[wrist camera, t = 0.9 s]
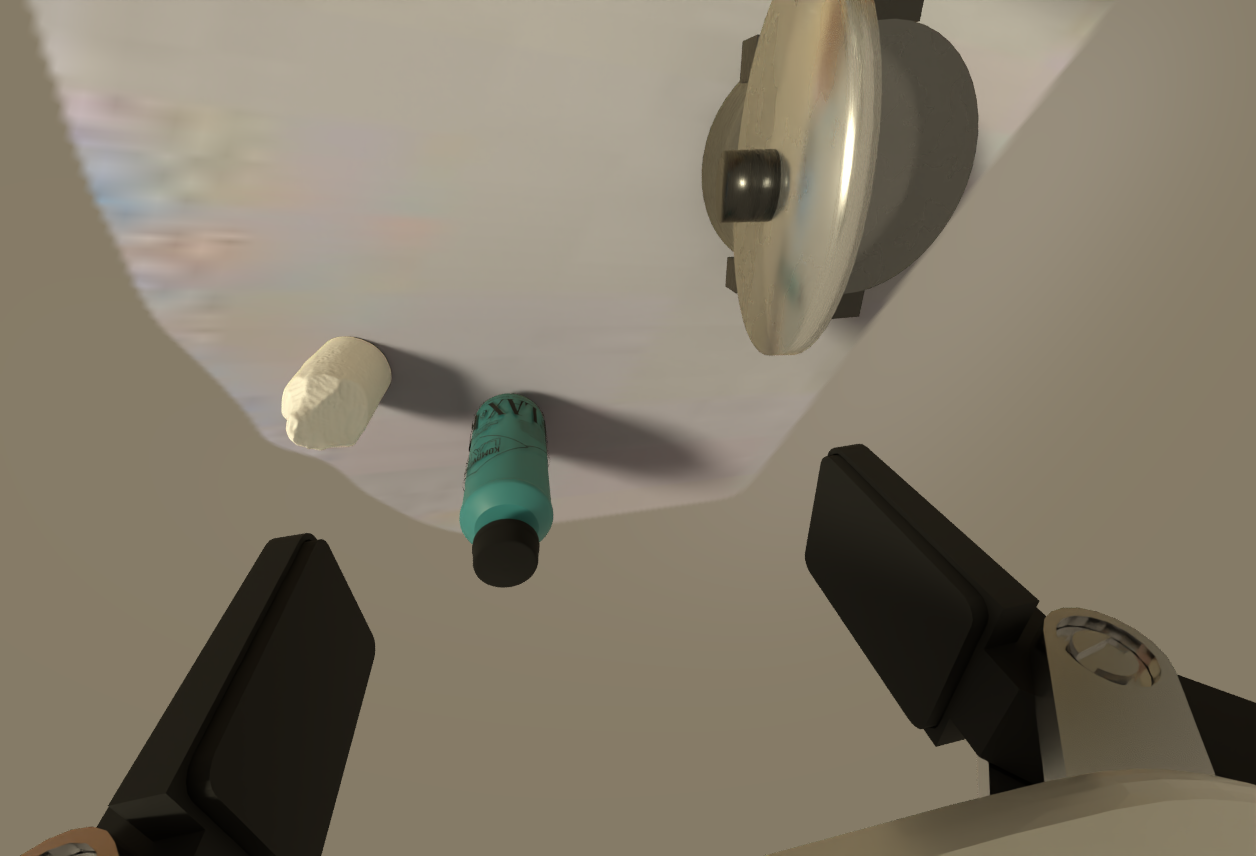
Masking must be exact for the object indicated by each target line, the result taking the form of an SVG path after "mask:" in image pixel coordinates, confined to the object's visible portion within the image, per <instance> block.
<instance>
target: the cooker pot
mask: <svg viewBox="0 0 1256 856" xmlns="http://www.w3.org/2000/svg"><path fill="white" fill-rule="evenodd" d="M923 2H924V0H874V3H875V8H876V14H877V20H878V26H879V34H880V47H881V59H882V100H881V117H880V133H879V142H878V151H877V160H876V168H875V174H874V180H873V186H872V192H871V198H870V203H869V208H868V212H867V217H866V221H865V226H864V230H863V235H862V238H861V242H860V245H859V249H858V252H857V256H856V259H855V263H854V266H853V269H852V271H851V274H850V277H849V280H848V283H847V286H846V288H845V291H844V293H843V295H842V298H841V300H840V302H839V305H838V307H837V309H836V311H835V313H834V315H833V316H832V318H831V319H835V318H847V317H858V316H859V314H860V309H861V304H862V300H863V295H864V290H866V289H869V288H872V287H874V286H876V285H879V284H881V283H883V282H885V281H887V280H889V279H890V278H892V277H894V276H896V275H897V274H899V273H900V272H901V271H903V270H904V269H906V268H907V267H908V266H909V265H911V264H912V263H913V262H914V261H915V260H916V259H918V258H919V257H920V256H921V255H922V254H923V253H924V252H925V251H926V249H927V248H928V247H929V246H930V245H931V244H932V243H933V242H934V240H935V239H936V238H937V237H938V235H939V234H940V233H941V232H942V230H943V229H944V227H945V225H946V224H947V222H948V221H949V219H950V218H951V216H952V214H953V212H954V211H955V209H956V207H957V205H958V203H959V201H960V199H961V197H962V194H963V192H964V190H965V187H966V185H967V182H968V179H969V175H970V172H971V169H972V165H973V161H974V156H975V152H976V145H977V137H978V109H977V99H976V94H975V90H974V85H973V82H972V79H971V76H970V74H969V71H968V68H967V66H966V65H965V63H964V61H963V59H962V57H961V56H960V54H959V53H958V51H957V50H956V49H955V48H954V47H953V45H952V44H951V43H950V42H949V41H948V40H947V39H946V38H944V37H943V36H942V35H941V34H940V33H939V32H937V31H935V30H933V29H931V28H930V27H928V26H926V25H923V24H920V23H917V22H918V21H920V17H921V12H922V7H923ZM759 37H760V35H755V36H753V37H751V38H749V39H747V40H745V41H743V45H742V59H741V73H740V82H739V83H738V84H737V85H736V86H735V87H734V88H733V90H732V91H731V92H730V94H729V95H728V96H727V98H726V99H725V101H724V102H723V104H722V106H721V108H720V109H719V111H718V113H717V115H716V117H715V119H714V122H713V124H712V126H711V129H710V132H709V135H708V138H707V141H706V146H705V150H704V155H703V164H702V190H703V198H704V202H705V206H706V210H707V213H708V216H709V218H710V221H711V224H712V225H713V227H714V229H715V231H716V233H717V234H718V236H719V237H720V238H721V240H722V241H723V242H724V244H726V245H727V246H728V247H729V248H730V249H731V250H732V251H733V252H734V239H733V223H719V221H718V218H717V213H716V178H717V169H718V163H719V159H720V155H721V153H722V151H723V150H738V143H739V135H740V128H741V121H742V114H743V108H744V102H745V96H746V91H747V86H748V81H749V76H750V72H751V67H752V63H753V59H754V55H755V51H756V47H757V44H758V40H759ZM726 287H727V288H729V289H730V290H732V291H733V292H735V293H737V285H736V276H735V264H734V257H728V258H727V272H726Z"/></svg>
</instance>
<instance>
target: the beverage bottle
mask: <svg viewBox="0 0 1256 856" xmlns="http://www.w3.org/2000/svg"><path fill="white" fill-rule="evenodd" d="M477 410H478V409H477ZM476 413H477V414H475V415H476V416H475V421H474V425H473V423H472V430H473V433H472V434H473V435H472V440H471V441H470V445H469V452H470V453H469V454H470V455H469V461H468V463H466V464H467V465H468V467H467V472H466V473H467V475H466V478H465V479H466V482H465V491H464V498H463V504H462V507H461V511H460V526H461V529H462V532H463V534H464V535H465V537H466V538H467V539H468V541H469V542H470V543H471V544H473V545H472V554H473V568H474V571H475V573H476V575H477V576H478V578H479V579H480V580H482V581H483V582H484V583H486V584H488V585H491V586H495V587H512V586H516V585H519V584H521V583H523V582H525V581H526V580H528V579H529V578H530V577H531V576H532V575H533V574H534V572H535V570H536V568H537V565H538V553H539V542H540V541H541V540H542V539H543V538H544V537H545V536H546V535H547V533H548V532H549V530H550V528H551V525H552V522H553V508H552V504H551V497H550V487H549V476H548V460H547V458H549V456H548V454H547V451H549V450H546V448H547V447H546V445H547V444H546V443H547V442H548V441H547V440H546V439H545V438H546V437H547V436H546V432H547V431H546V428H545V421H544V420H543V419H545V418H543V416H542V414H541V411H540V410H539V408H538V407H537V406H536V405H535V404H534V403H533V401H531V400H530V399H528V398H526V397H524V396H521V395H518V394H501V395H497V396H495V397H492V398H490V399H489V400H487V401H485V402H484V404H483V405H482V406H481V407H480V408H479V410H478V412H476ZM542 413H543V412H542ZM473 427H474V428H473ZM544 429H545V430H544ZM545 436H546V437H545ZM470 438H471V436H470ZM546 441H547V442H546ZM547 456H548V457H547ZM549 461H550V460H549ZM549 463H550V462H549ZM467 465H466V466H467ZM465 470H466V469H465ZM466 473H464V474H466ZM465 479H464V481H465ZM463 490H464V489H463Z"/></svg>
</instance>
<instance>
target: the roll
mask: <svg viewBox="0 0 1256 856" xmlns="http://www.w3.org/2000/svg"><path fill="white" fill-rule="evenodd" d="M390 383H391V369H390V366H389V364H388V362H387V360H386V358H385V356H384V355H383V353H382V352H381V351H380V350H379V349H378V348H377V347H375V346H374V345H372V344H371V343H369V342H366V341H364V340H362V339H358V338H355V337H337V338H333V339H331V340H329V341H327V342H326V343H325V344H324V345H323V346H322V347H321V348H320V349H319V350H318V351H317V352H316V353H315V354H314V355H313V356H312V357H310V358H309V359H308V360H307V361H306V362H305V363H304V364H303V365H302V367H301V369H300V370H299V371H298V372H297V373H296V374H295V376H294V377H293V378H292V379H291V381H290V382H289V383H288V385H287V386H286V387H285V389H284V393H283V397H282V414H283V416H284V417H285V418H286V419H287V427H286V431H287V433H288V436H289V438H290V439H291V440H292V441H293V442H294V443H295V444H296V445H299V446H304V447H307V449H316V450H324V449H327V448H331V447H349V446H353V445H354V444H356V442H357V440H358V439H359V437H360V436H361V434H362V433H363V431H364V430H365V428H366V426H367V425H368V423H369V421H370V419H371V418H372V416H373V414H374V412H375V410H376V409H377V407H378V405H379V403H380V401H381V399H382V397H383V395H384V394H385V392H386V391H387V389H388V387H389V385H390Z"/></svg>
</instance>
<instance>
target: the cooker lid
mask: <svg viewBox="0 0 1256 856" xmlns="http://www.w3.org/2000/svg"><path fill="white" fill-rule="evenodd" d="M881 100H882V59H881V47H880V34H879V26H878V20H877V14H876V8H875V3H874V0H772V2H771V5H770V7H769V10H768V13H767V15H766V18H765V21H764V24H763V27H762V30H761V33H760V37H759V40H758V44H757V47H756V51H755V55H754V59H753V63H752V67H751V72H750V76H749V81H748V86H747V91H746V96H745V102H744V108H743V114H742V121H741V128H740V135H739V143H738V150H723V151H722V153H721V155H720V159H719V163H718V169H717V178H716V213H717V218H718V221H719V223H733V239H734V264H735V276H736V285H737V293H738V299H739V305H740V310H741V314H742V318H743V322H744V325H745V328H746V331H747V333H748V336H749V338H750V340H751V342H752V343H753V345H754V346H755V348H756V349H757V350H758V351H759V352H761V353H762V354H764V355H769V356H775V355H795V354H799V353H802V352H804V351H805V350H807V349H808V348H810V347H811V346H812V345H813V344H814V343H815V342H816V341H817V339H818V338H819V337H820V336H821V334H822V333H823V331H824V330H825V329H826V327H827V326H828V324H829V322H830V320H831V318H832V316H833V315H834V313H835V311H836V309H837V307H838V305H839V302H840V300H841V298H842V295H843V293H844V291H845V288H846V286H847V283H848V280H849V277H850V274H851V271H852V269H853V266H854V263H855V259H856V256H857V252H858V249H859V245H860V242H861V238H862V235H863V230H864V226H865V221H866V217H867V212H868V208H869V203H870V198H871V192H872V186H873V180H874V174H875V168H876V160H877V151H878V142H879V133H880V117H881Z"/></svg>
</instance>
